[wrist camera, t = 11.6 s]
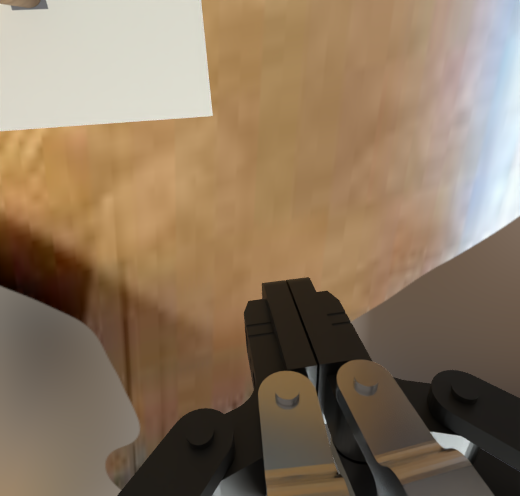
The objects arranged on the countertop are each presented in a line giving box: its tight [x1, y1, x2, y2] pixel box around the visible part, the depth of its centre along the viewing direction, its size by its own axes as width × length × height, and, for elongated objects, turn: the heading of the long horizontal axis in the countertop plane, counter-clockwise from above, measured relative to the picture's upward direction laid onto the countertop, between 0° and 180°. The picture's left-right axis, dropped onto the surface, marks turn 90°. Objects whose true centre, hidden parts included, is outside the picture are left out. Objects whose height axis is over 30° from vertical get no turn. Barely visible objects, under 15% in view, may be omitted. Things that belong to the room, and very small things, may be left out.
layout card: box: [0, 0, 213, 131], centre depth 29 cm, size 20×17×1 cm
